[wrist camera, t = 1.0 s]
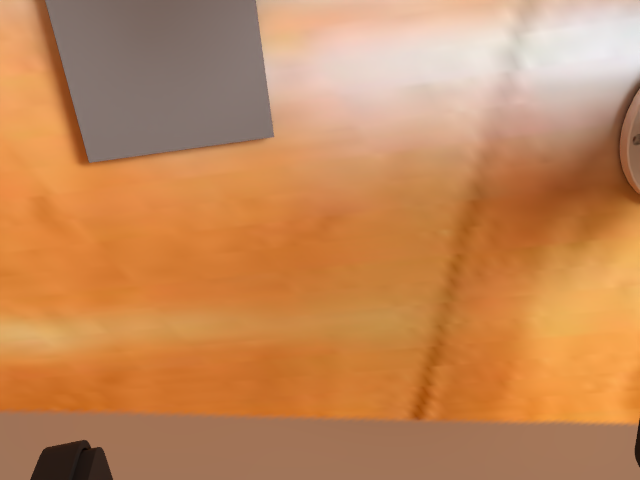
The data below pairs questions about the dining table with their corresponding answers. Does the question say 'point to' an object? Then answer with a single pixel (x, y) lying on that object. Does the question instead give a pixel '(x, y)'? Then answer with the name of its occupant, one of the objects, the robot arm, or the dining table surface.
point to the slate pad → (162, 73)
